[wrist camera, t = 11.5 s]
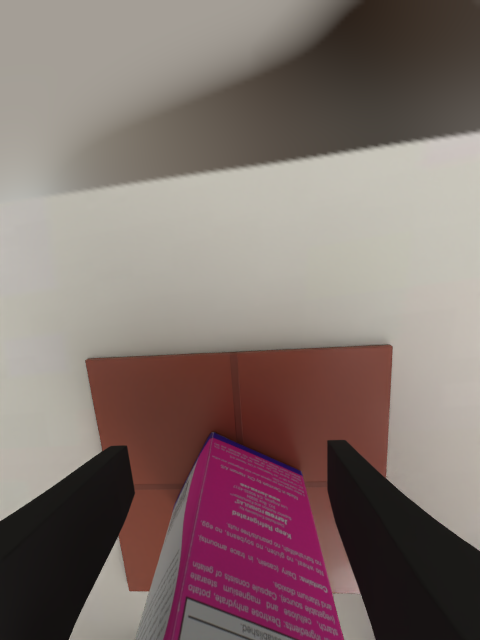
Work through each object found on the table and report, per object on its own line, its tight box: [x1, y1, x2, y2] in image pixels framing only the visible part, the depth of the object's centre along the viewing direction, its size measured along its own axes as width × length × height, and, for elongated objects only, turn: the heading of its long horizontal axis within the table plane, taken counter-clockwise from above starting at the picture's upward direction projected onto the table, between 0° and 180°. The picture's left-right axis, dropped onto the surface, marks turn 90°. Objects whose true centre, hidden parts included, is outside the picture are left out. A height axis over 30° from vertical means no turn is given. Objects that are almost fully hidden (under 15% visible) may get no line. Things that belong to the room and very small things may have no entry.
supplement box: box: [135, 432, 344, 640], centre depth 10 cm, size 6×6×12 cm
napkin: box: [85, 345, 393, 594], centre depth 16 cm, size 16×16×1 cm
